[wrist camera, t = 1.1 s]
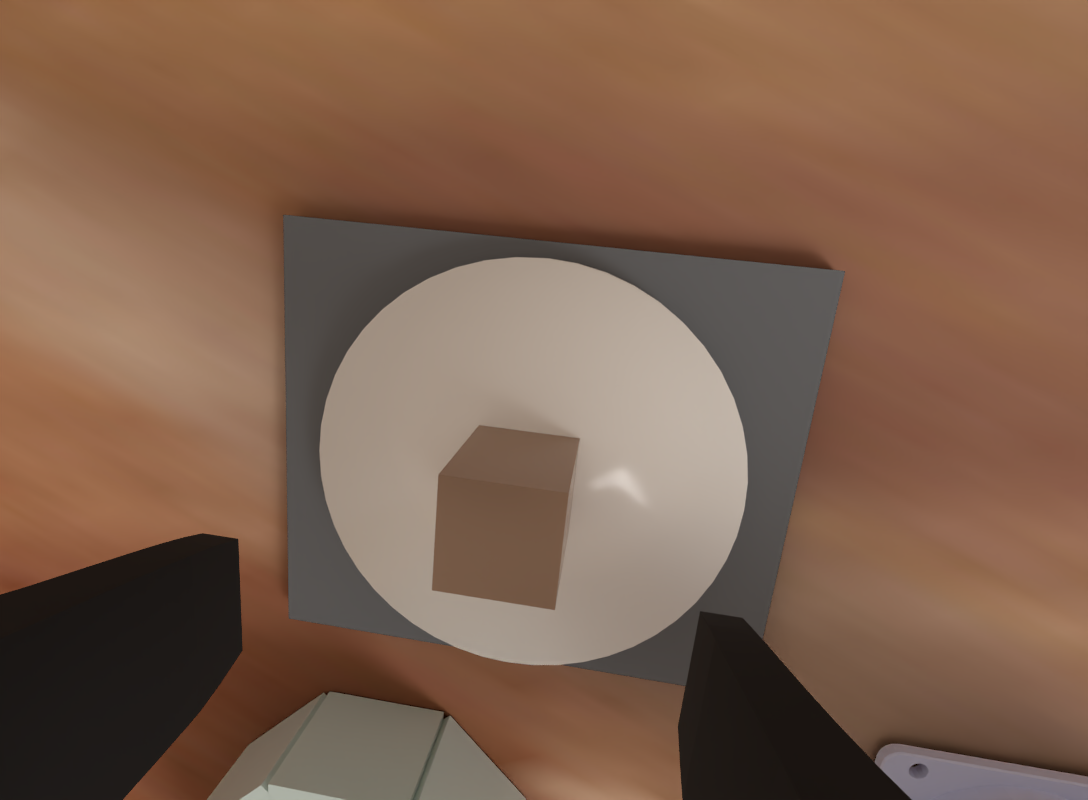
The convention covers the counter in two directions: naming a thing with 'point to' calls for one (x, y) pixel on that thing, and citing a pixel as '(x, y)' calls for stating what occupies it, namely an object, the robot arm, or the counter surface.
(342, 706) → the bowl
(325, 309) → the mat
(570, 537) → the lid
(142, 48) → the counter surface
